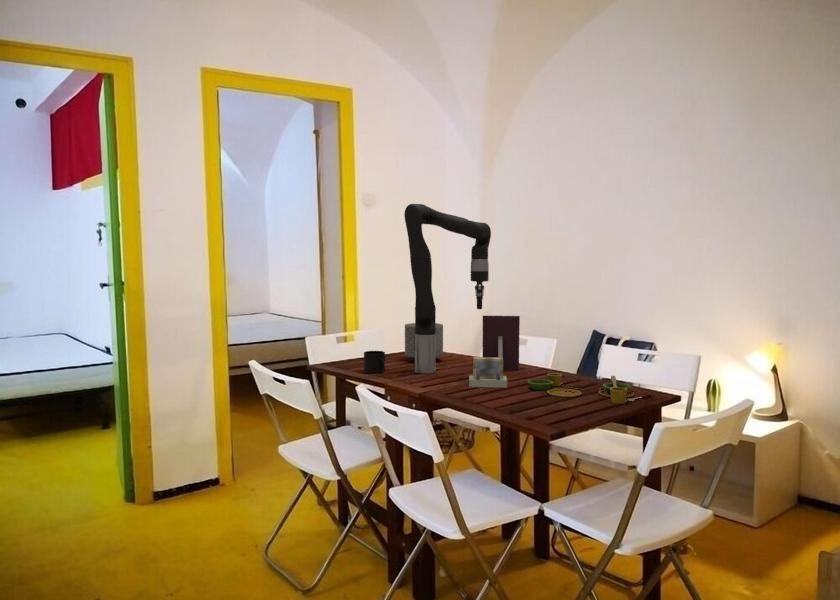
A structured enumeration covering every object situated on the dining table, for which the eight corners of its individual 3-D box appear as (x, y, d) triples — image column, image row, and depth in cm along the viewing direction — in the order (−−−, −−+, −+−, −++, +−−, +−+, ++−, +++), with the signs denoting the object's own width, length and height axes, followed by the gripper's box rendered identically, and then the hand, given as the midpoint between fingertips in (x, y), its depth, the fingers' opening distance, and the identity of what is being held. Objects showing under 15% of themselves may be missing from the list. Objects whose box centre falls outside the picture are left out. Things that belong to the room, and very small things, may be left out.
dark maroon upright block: (518, 369, 293) (519, 315, 291) (520, 373, 283) (520, 317, 281) (482, 369, 294) (482, 315, 292) (482, 373, 285) (482, 317, 283)
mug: (374, 375, 279) (374, 355, 278) (359, 371, 288) (359, 351, 288) (392, 373, 285) (392, 353, 284) (377, 369, 294) (377, 350, 293)
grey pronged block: (469, 387, 254) (469, 369, 254) (469, 382, 263) (469, 365, 263) (507, 387, 253) (507, 370, 253) (505, 383, 262) (506, 366, 262)
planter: (450, 360, 318) (450, 324, 317) (424, 365, 304) (424, 327, 303) (423, 356, 331) (423, 321, 330) (396, 361, 317) (396, 324, 316)
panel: (473, 378, 257) (473, 358, 256) (473, 376, 261) (473, 357, 260) (503, 379, 256) (503, 359, 255) (502, 377, 260) (502, 357, 259)
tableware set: (653, 399, 235) (653, 382, 234) (604, 410, 219) (604, 392, 218) (567, 381, 268) (567, 366, 268) (519, 389, 252) (519, 374, 252)
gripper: (488, 270, 261) (488, 309, 262) (488, 269, 275) (487, 307, 276) (470, 270, 261) (470, 309, 263) (470, 269, 276) (470, 307, 277)
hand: (479, 308), depth 269 cm, fingers open, 8 cm apart
